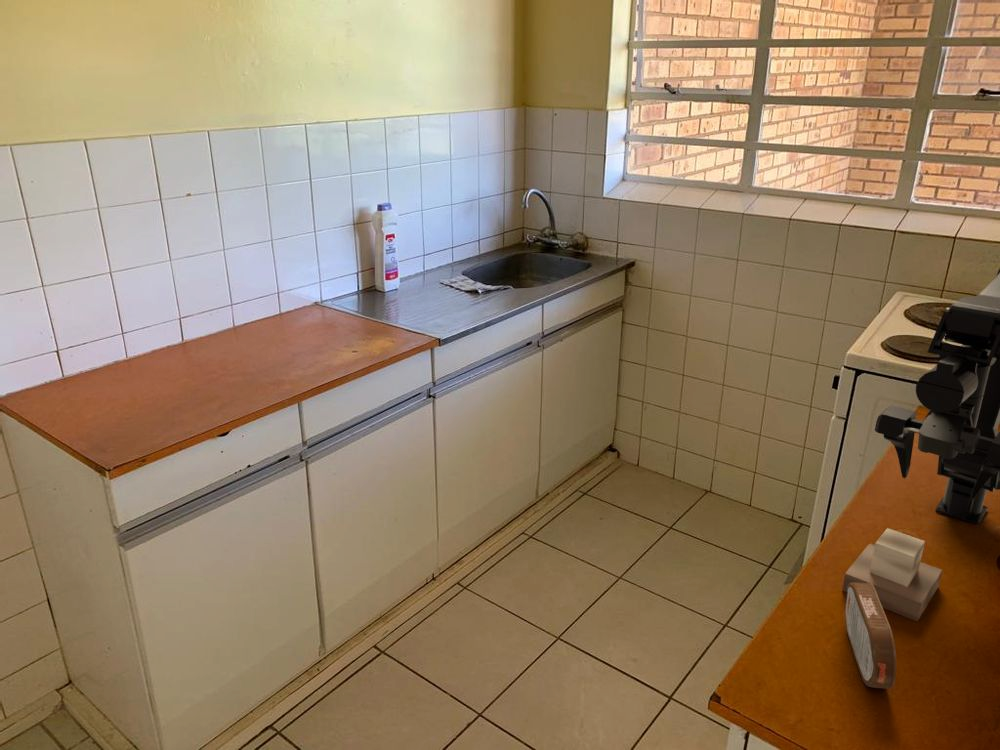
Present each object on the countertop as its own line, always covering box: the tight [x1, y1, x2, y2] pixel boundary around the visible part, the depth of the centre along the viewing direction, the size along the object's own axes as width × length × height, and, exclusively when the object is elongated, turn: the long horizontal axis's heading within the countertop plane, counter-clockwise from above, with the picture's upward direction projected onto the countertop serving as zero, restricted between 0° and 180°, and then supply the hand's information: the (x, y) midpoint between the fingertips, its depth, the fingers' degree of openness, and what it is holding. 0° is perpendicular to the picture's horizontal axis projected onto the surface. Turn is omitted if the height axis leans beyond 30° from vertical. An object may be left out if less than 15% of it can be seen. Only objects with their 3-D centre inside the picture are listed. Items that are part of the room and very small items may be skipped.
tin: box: [844, 582, 897, 690], centre depth 94 cm, size 15×3×8 cm, turn 168°
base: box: [841, 543, 943, 622], centre depth 108 cm, size 10×10×3 cm
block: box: [870, 527, 926, 587], centre depth 107 cm, size 5×5×5 cm
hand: (937, 487), depth 112 cm, fingers open, 9 cm apart
